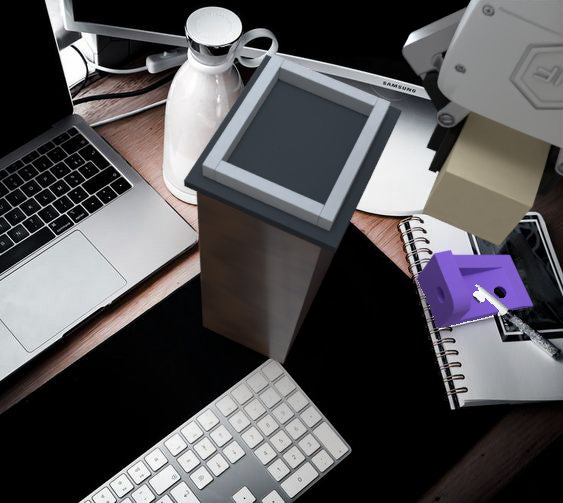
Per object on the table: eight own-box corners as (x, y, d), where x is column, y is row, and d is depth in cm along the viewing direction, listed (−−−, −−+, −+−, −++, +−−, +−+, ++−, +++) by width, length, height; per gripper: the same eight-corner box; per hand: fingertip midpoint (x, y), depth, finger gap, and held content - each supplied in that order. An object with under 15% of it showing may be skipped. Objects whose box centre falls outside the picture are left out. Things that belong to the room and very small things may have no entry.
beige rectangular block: (533, 141, 41) (566, 95, 37) (499, 246, 37) (532, 207, 33) (462, 112, 42) (488, 64, 38) (421, 213, 38) (445, 170, 34)
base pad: (399, 116, 50) (407, 98, 48) (334, 253, 44) (340, 239, 42) (265, 61, 51) (267, 40, 49) (183, 186, 45) (182, 169, 43)
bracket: (436, 331, 72) (457, 309, 66) (416, 278, 75) (434, 253, 69) (527, 310, 74) (555, 287, 68) (504, 260, 77) (529, 234, 71)
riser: (330, 263, 75) (388, 111, 50) (283, 364, 68) (322, 248, 44) (256, 230, 76) (276, 65, 51) (202, 326, 70) (196, 191, 45)
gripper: (422, -129, 23) (336, 163, 39) (899, 43, 21) (599, 276, 37) (477, -219, 26) (377, 84, 42) (891, -80, 24) (620, 183, 40)
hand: (482, 171), depth 39 cm, fingers closed on beige rectangular block, 5 cm apart
